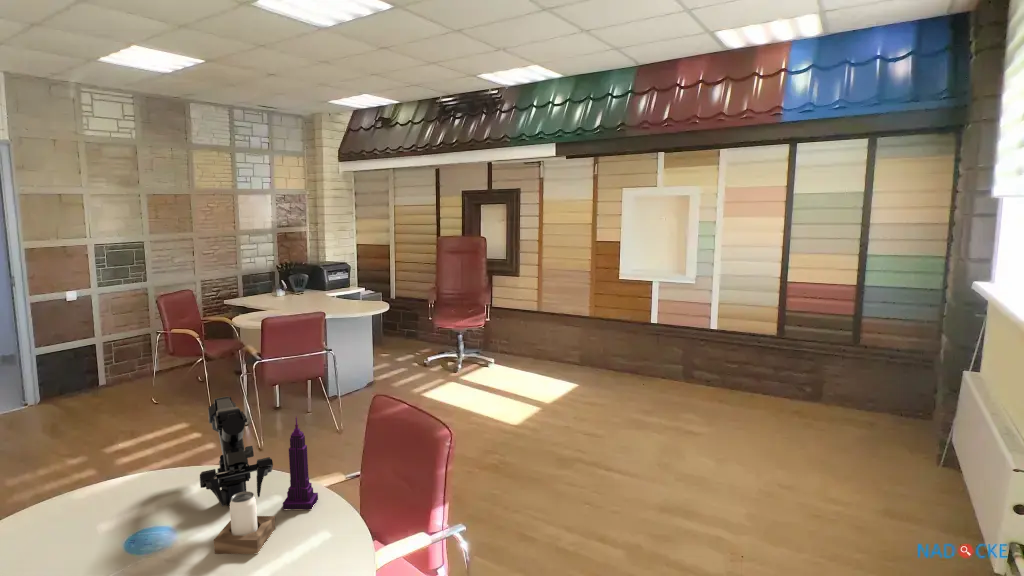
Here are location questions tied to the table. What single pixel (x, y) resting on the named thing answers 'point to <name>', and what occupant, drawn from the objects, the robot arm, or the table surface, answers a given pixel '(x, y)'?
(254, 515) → the can
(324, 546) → the table surface
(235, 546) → the socket block
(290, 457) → the building model
